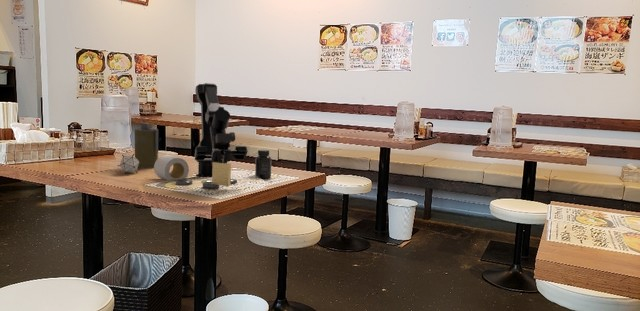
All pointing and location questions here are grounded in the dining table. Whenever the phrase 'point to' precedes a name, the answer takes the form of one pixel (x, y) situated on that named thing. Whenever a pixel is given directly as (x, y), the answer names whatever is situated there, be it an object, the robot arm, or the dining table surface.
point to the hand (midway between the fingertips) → (223, 172)
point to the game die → (129, 163)
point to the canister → (146, 145)
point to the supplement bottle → (263, 165)
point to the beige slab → (219, 176)
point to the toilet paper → (166, 162)
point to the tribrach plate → (189, 182)
